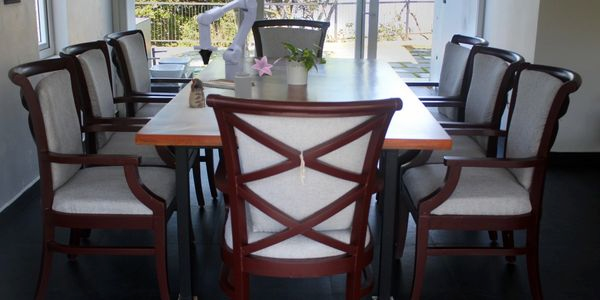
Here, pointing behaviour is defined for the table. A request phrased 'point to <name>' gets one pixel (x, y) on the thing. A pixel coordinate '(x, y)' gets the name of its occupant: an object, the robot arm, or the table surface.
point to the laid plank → (227, 81)
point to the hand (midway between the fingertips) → (206, 64)
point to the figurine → (197, 94)
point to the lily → (262, 66)
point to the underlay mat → (221, 88)
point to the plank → (219, 84)
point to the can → (243, 85)
